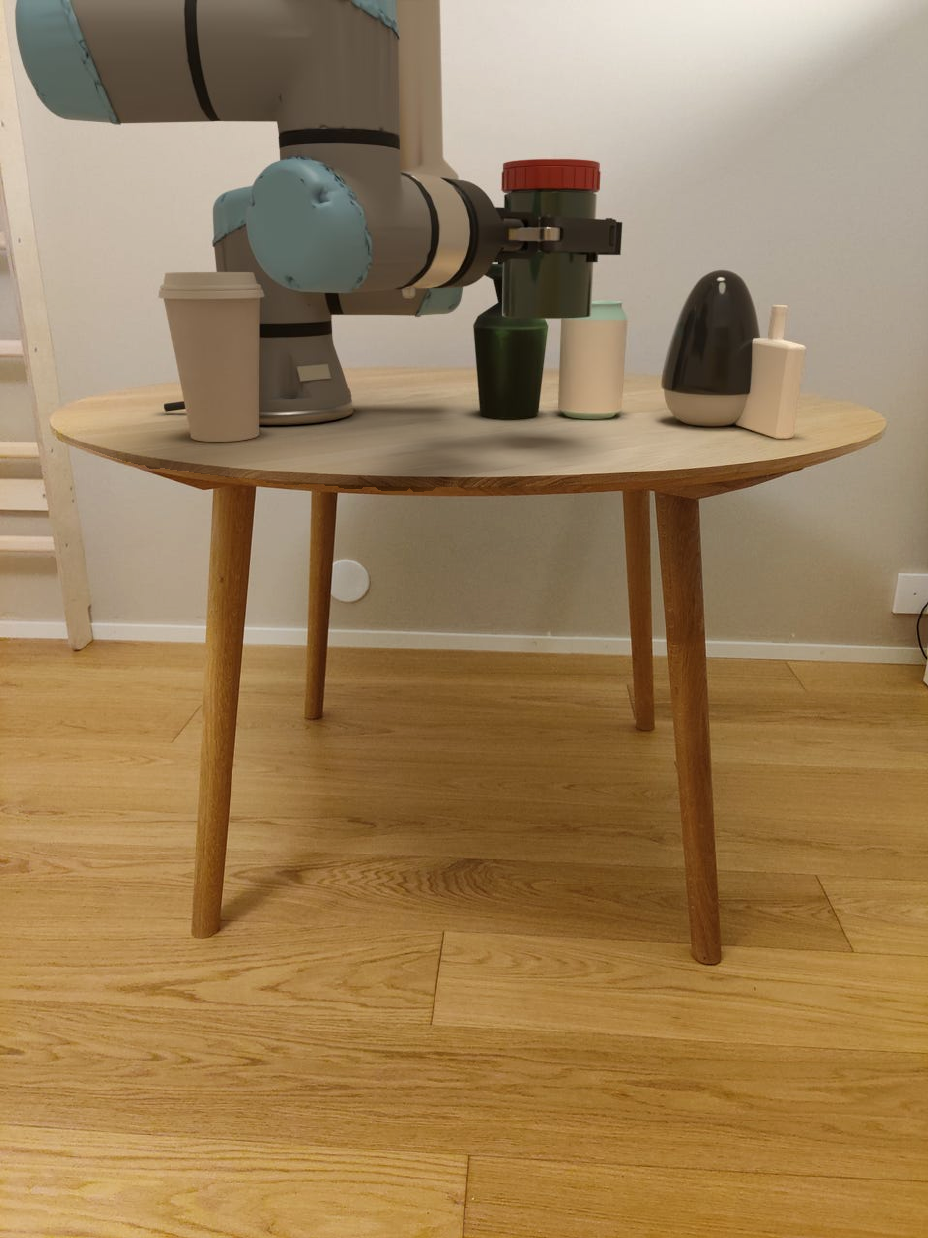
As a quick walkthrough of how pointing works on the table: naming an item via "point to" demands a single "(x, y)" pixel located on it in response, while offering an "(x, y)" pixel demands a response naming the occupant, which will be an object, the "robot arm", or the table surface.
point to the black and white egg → (711, 352)
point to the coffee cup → (216, 350)
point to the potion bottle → (508, 359)
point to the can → (593, 362)
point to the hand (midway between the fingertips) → (573, 239)
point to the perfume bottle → (774, 381)
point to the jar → (549, 262)
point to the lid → (551, 175)
